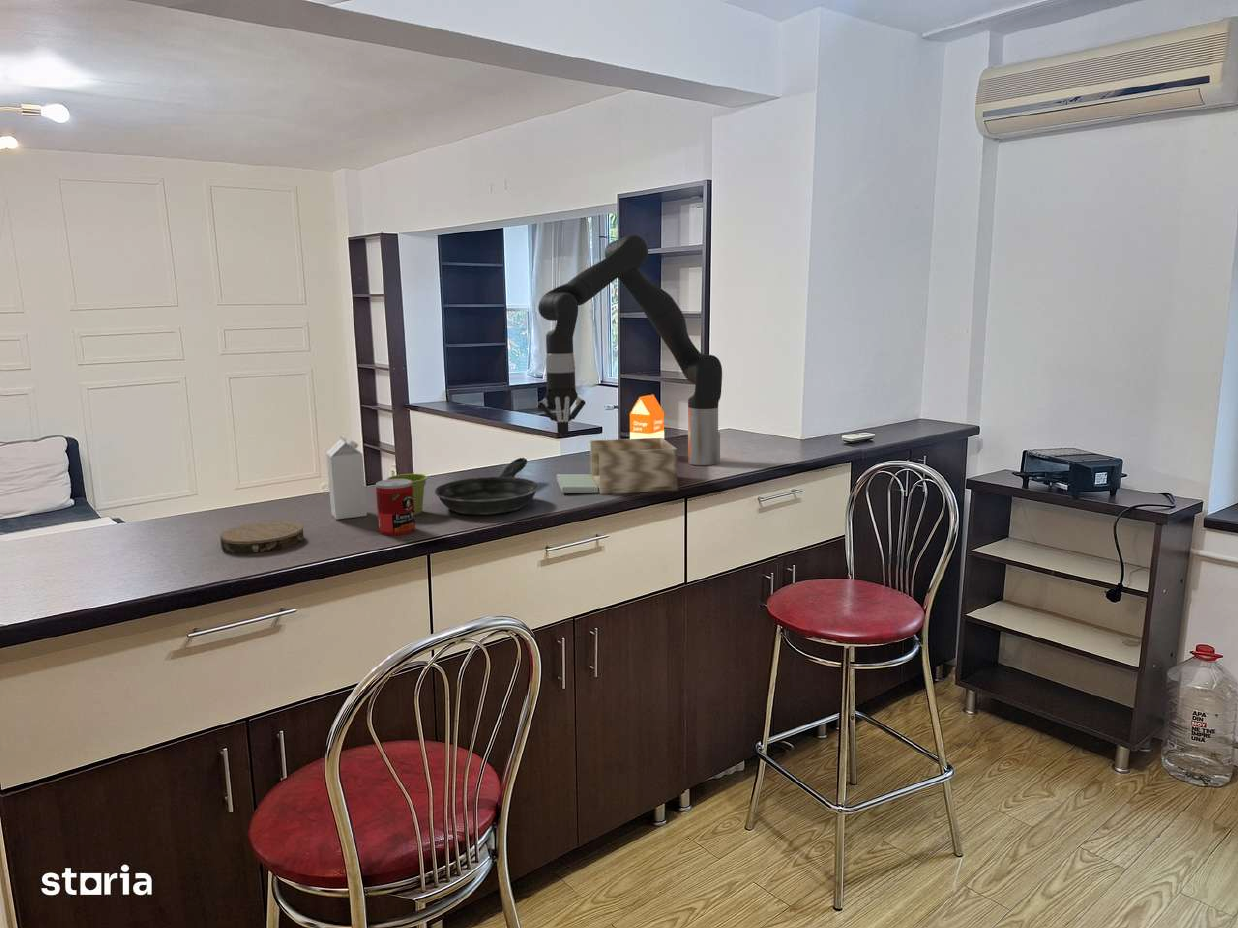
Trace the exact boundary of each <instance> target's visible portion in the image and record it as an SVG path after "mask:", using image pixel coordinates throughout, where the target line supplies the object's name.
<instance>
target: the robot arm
mask: <svg viewBox="0 0 1238 928" xmlns="http://www.w3.org/2000/svg"><path fill="white" fill-rule="evenodd" d="M648 257H649V248H648V245H647V243H646V241H645V240H644V238H642V237H641V236H639V235H636V234H628V235H625V236H623V237H621V238H618V239H616V240H613V241H611V242H609V243H607V245H606V246H605V249H604V258H603V259H602V260H601V261H598V262H597V263H595V264H593V265H591V266H590V267H588V268H586V269H584V270H583V271H581V272H580V273H578V274H577V275H576V276H574V277H573V278H572V279H570V280H569V281H568V282H567V283H564V284H562V285H560V286H557V287H555V288H553V289H551V290H550V291H548V292H546V293H545V294H543V296H542V297H541V299H540V300H539V303H538V308H537V309H538V312H539V315H540V316H541V318H543V319H545V320H547V321H552V322H553V321H556V324H555V328H554V329H552V330H550V331H548V332H547V333H546V335H545V346H546V348H545V350H546V356H545V357H546V358H545V370H546V375H545V376H546V393H545V396H544V398H543V399H542V400H541V401H538V403H537V404H538V406H539V408H540V409H541V410H542V411H543V412H544V413H545V414H546V416H547V417H548V418H549V419H550V421H553V422H556V427H557V428H556V430H557V431H556V432H557V433H558V435H559V436H560V437H567V435H568V434H569V422H570V421H572V420H575V419H576V417H577V416H578V414H579V413H580V412H581V410H582V409H583V408H584V406H585V405H586V400H585V399H582V398H580V397H579V396H578V395H579V394H578V392H577V390H576V365H575V364H576V363H575V357H574V334H575V329H576V325H577V319H578V316H579V315H578V314H579V306H582V305H584V304H586V303H587V302H589V301H590V300H591V299H592V298H594V297H595V296H596V295H598V294H599V293H600V292H601V291H602V290H603V289H605V288H606V287H607V286H609V285H610V284H611V283H613V282H614V281H615V280H617V279H618V280H619V281H620V283H622V285H623V286H624V288H625V289H627V291H628V292H629V294H631V296H632V298H634V300H635V302H636V303H637V304H638V306H639V307H640V309H641V310H642V311H643V312H644V314H645V316H646V317H647V319H648V321H649V322H650V324H651V325H652V326H653V328H654V329H655V331H656V332H657V333H658V335H659V336H660V338H661V339H662V341H663V342H664V344H665V345H666V347H667V348H668V349H669V351H670V352H671V354H672V355H673V357H674V359H675V361H676V362H677V364H678V367H679V369H680V371H681V372H682V374H683V376H684V377H685V378H686V380H687V381H688V382H690V383H692V384H694V386H695V387H694V392H693V395H692V396H690V397H689V398H688V399H687V463H688V464H690V465H695V466H709V465H711V466H712V465H716V464H717V465H718V464H721V433H720V432H719V402H720V400H721V397H722V386H723V385H722V384H723V366H722V363H721V360H720V359H719V358H718V357H717V356H715V355H712V354H705V353H701V352H700V350H698V348H697V347H696V346H695V344H694V343H693V341H692V340H691V338H690V336H689V334H688V329H687V322H686V319H685V316H684V314H683V312H682V310H681V309H680V307H679V305H678V304H677V302H676V301H675V299H674V298H673V296H672V295H671V294H669V293H668V292H667V291H665V289H663V288H661V287H659V286H658V285H656V284H654V283H652V282H651V281H650V280H648V279H647V278H646V277H645V276H644V275H643V274H642V272H641V271H640V270H639V268H640V267H641V266H643V265H644V264H645V263H646V261H647V260H648ZM548 403H549V404H550V406H551V407H552V408H553V409H554V410H555V415H554V413H552V412H551V411H550V409H549V408H548V406H549V404H548ZM574 404H575V405H576V406H575V407H574V409H573V410H572V411H571V413H569V412H570V411H569V410H570V408H572V406H573V405H574Z"/></svg>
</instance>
